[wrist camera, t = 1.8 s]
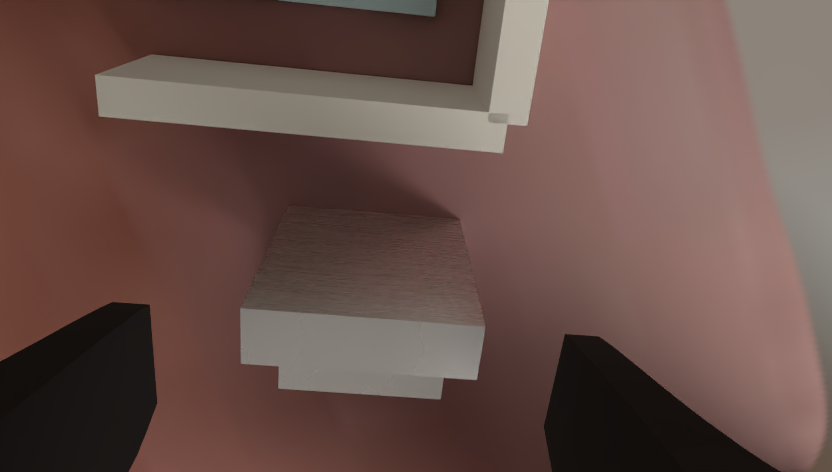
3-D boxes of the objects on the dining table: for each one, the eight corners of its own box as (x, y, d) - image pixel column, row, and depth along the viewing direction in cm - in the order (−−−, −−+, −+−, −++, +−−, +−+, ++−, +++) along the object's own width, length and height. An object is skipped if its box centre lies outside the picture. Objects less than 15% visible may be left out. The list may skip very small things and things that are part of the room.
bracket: (289, 203, 16) (240, 308, 11) (459, 217, 17) (485, 326, 12) (285, 363, 18) (242, 513, 13) (438, 374, 19) (452, 525, 14)
